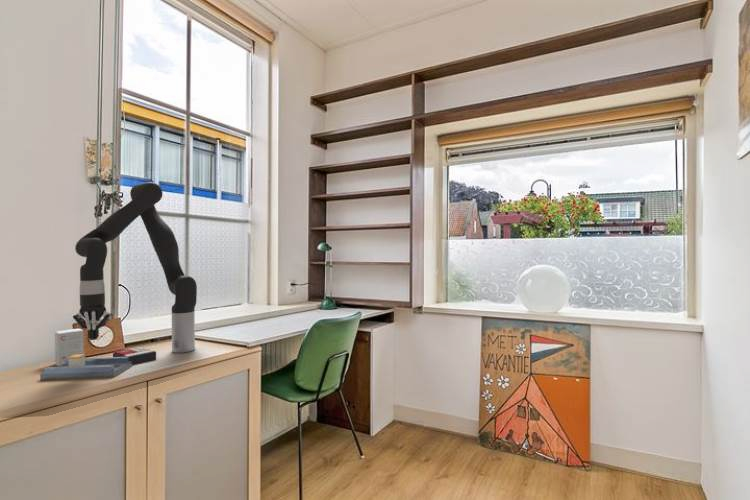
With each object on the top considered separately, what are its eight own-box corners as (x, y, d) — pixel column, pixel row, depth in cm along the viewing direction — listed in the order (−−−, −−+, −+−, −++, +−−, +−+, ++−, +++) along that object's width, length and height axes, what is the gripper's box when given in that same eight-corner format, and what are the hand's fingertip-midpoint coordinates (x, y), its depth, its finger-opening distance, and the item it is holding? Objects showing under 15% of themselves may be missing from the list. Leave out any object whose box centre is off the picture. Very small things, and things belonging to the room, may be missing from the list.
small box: (79, 359, 163) (79, 327, 163) (84, 362, 159) (83, 330, 159) (54, 364, 157) (54, 331, 157) (58, 367, 153) (58, 333, 153)
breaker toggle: (74, 365, 147) (74, 354, 147) (85, 365, 147) (85, 354, 147) (68, 368, 143) (68, 357, 143) (79, 368, 144) (79, 356, 144)
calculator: (141, 346, 172) (156, 349, 163) (141, 355, 172) (156, 360, 163) (112, 351, 164) (126, 355, 154) (112, 361, 164) (126, 366, 154)
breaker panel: (65, 368, 151) (65, 358, 151) (132, 366, 154) (132, 356, 154) (40, 380, 138) (40, 369, 138) (114, 377, 141) (113, 366, 141)
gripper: (117, 290, 150) (118, 336, 151) (79, 291, 149) (80, 337, 149) (106, 293, 143) (107, 341, 143) (66, 294, 141) (67, 342, 142)
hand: (93, 339), depth 146 cm, fingers closed
